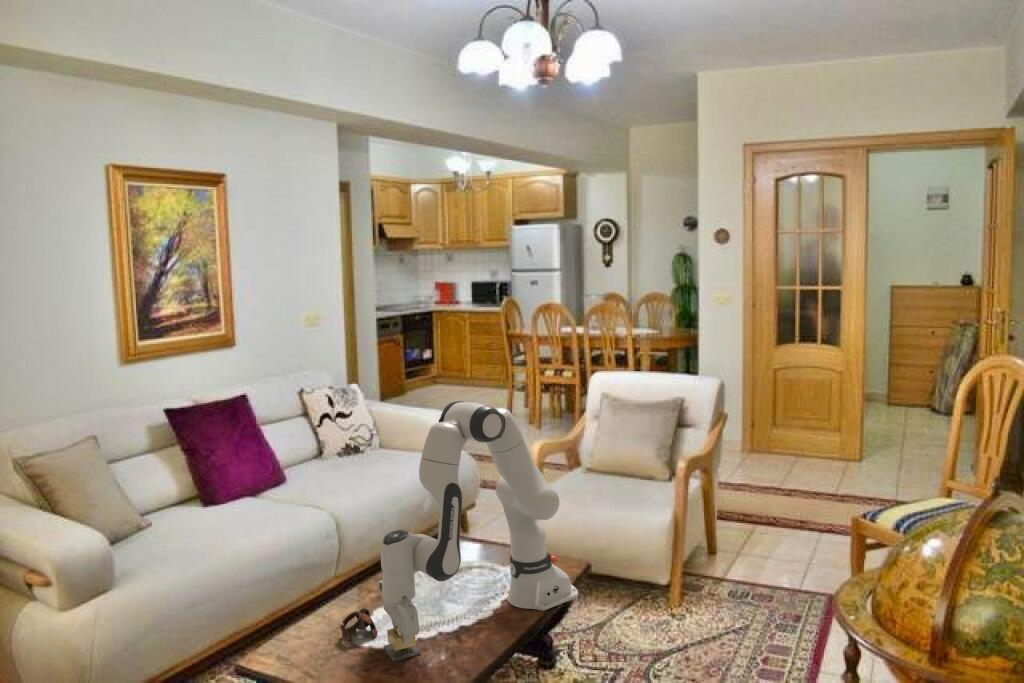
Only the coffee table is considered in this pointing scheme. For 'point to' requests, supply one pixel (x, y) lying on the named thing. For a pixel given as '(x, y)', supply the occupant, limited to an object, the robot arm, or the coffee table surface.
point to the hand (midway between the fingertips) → (401, 637)
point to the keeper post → (401, 651)
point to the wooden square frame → (399, 639)
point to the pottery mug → (358, 623)
